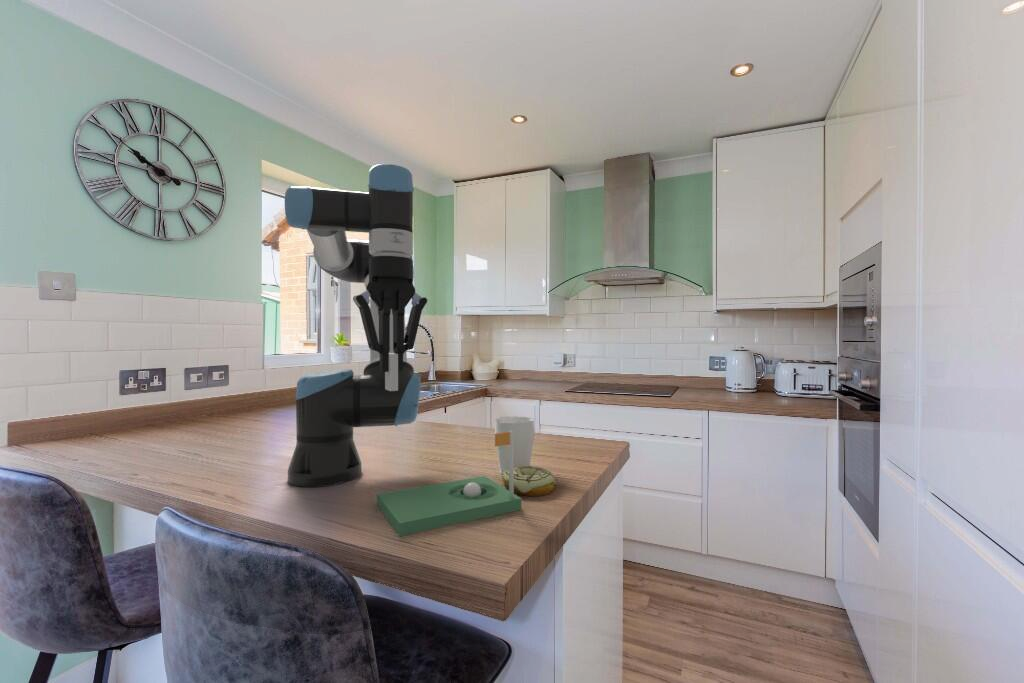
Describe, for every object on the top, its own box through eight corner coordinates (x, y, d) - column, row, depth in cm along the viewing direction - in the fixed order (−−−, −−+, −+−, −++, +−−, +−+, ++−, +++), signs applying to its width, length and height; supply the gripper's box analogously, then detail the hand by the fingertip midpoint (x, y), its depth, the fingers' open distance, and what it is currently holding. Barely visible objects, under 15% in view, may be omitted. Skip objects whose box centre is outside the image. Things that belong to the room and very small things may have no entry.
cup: (518, 481, 97) (518, 425, 97) (486, 473, 102) (486, 420, 102) (541, 471, 104) (541, 419, 104) (510, 464, 110) (510, 414, 109)
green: (377, 504, 83) (376, 428, 83) (484, 485, 94) (484, 418, 94) (399, 536, 70) (399, 446, 70) (521, 509, 81) (521, 431, 81)
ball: (457, 491, 86) (472, 481, 88) (467, 506, 85) (481, 496, 87) (462, 487, 83) (476, 476, 85) (472, 503, 82) (486, 492, 84)
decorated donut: (525, 502, 85) (525, 482, 85) (492, 487, 93) (492, 469, 93) (565, 491, 91) (565, 472, 91) (531, 477, 100) (531, 460, 100)
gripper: (358, 251, 73) (359, 395, 74) (434, 257, 80) (433, 389, 81) (347, 256, 79) (348, 389, 80) (418, 262, 87) (418, 384, 88)
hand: (391, 389), depth 81 cm, fingers closed
